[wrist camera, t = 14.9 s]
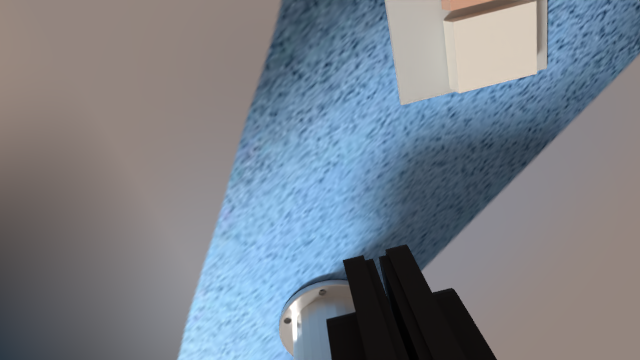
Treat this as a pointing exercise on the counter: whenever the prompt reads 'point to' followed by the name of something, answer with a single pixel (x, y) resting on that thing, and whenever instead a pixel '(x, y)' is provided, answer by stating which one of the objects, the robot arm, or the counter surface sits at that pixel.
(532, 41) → the cream block
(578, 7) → the counter surface
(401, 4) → the grey mat
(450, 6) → the salmon pink block
